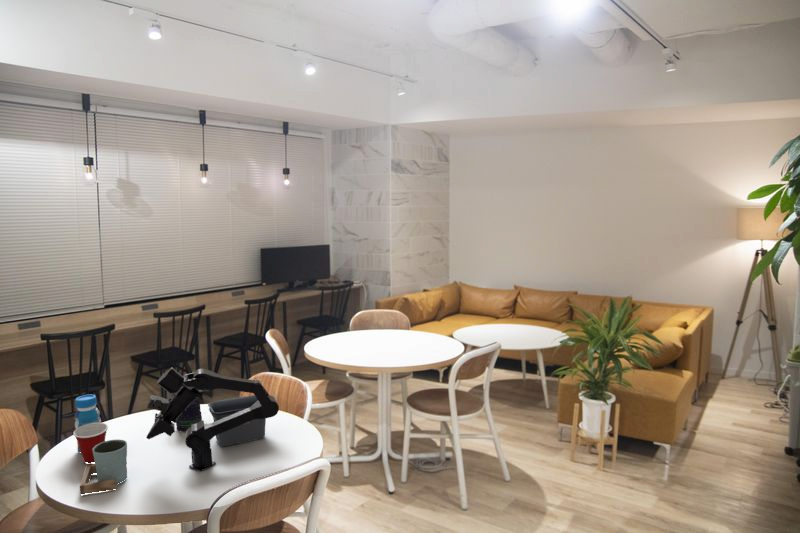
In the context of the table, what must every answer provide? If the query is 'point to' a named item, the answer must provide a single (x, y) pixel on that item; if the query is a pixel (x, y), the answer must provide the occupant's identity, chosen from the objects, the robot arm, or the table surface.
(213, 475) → the table surface
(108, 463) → the green plant pot
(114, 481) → the walnut bay
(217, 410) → the storage bin
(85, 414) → the beverage bottle
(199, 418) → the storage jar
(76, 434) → the plastic cup
